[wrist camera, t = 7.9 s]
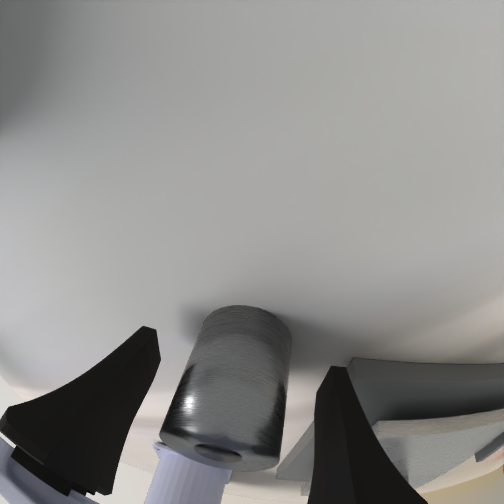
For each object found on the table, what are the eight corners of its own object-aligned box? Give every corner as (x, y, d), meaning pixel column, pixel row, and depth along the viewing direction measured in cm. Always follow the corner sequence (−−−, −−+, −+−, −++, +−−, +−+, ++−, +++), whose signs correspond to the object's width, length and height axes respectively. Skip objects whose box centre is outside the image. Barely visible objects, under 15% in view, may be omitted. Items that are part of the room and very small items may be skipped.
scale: (420, 466, 20) (423, 494, 16) (277, 468, 21) (272, 502, 18) (538, 361, 11) (555, 399, 7) (353, 357, 12) (360, 429, 9)
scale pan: (415, 474, 18) (416, 488, 16) (302, 479, 18) (300, 495, 17) (515, 397, 11) (521, 416, 9) (377, 408, 11) (380, 438, 10)
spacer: (281, 373, 13) (267, 477, 8) (201, 357, 13) (166, 454, 9) (301, 315, 11) (292, 446, 6) (202, 296, 11) (149, 413, 7)
